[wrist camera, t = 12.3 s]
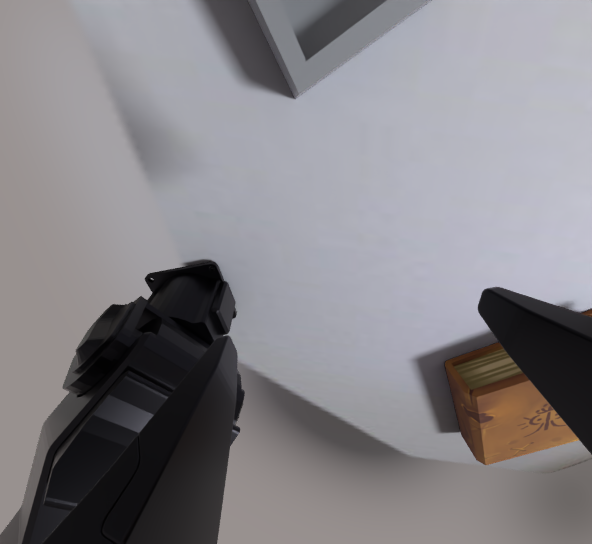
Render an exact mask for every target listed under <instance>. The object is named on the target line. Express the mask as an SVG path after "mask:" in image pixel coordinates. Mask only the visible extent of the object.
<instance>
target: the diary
mask: <svg viewBox="0 0 592 544" xmlns="http://www.w3.org/2000/svg"><path fill="white" fill-rule="evenodd" d="M580 314H583V315H587V316H590V317H592V310H589V311H586V312H583V313H580ZM445 368H446V372H447V377H448V381H449V385H450V389H451V393H452V397H453V402H454V406H455V410H456V414H457V418H458V423H459V427H460V431H461V435H462V437H463V438H464V440H465V442H466V443H467V445H468V447H469V448H470V450H471V452H472V453H473V455H474V456H475V458H476V460H478V461H479V462H481V463H483V464H484V465H488V464H492V463H496V462H500V461H503V460H507V459H511V458H514V457H518V456H522V455H526V454H529V453H533V452H537V451H540V450H544V449H548V448H551V447H555V446H559V445H563V444H566V443H570V442H574V441H577V440H579V439H578V438H577V436H576V435H575V434H574V433H573V432H572V430H571V429H570V428H569V427H568V426H567V425H566V423H565V422H564V421H563V420H562V419H561V417H560V416H559V415H558V414H557V413H556V411H555V410H554V409H553V408H552V407H551V405H550V404H549V403H548V402H547V401H546V399H545V398H544V397H543V396H542V395H541V393H540V392H539V391H538V390H537V389H536V387H535V386H534V385H533V384H532V383H531V381H530V380H529V379H528V378H527V377H526V375H525V374H524V373H523V372H522V371H521V370H520V368H519V367H518V366H517V365H516V364H515V362H514V361H513V360H512V359H511V358H510V356H509V355H508V354H507V352H506V351H505V350H504V348H503V347H502V346H501V344H500V343H499V342H498V343H495V344H492V345H489V346H487V347H484V348H481V349H478V350H475V351H472V352H470V353H467V354H464V355H461V356H458V357H455V358H452V359H450V360H447V361H446V362H445Z"/></svg>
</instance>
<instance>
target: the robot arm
mask: <svg viewBox="0 0 592 544" xmlns="http://www.w3.org/2000/svg"><path fill="white" fill-rule="evenodd" d="M210 266H212V267H214V268H215V269H211V268H210ZM150 278H153V279H154V280H151V279H150ZM145 281H146V283H147V284H148V286H149V288H150V289H151V291H152V292H153V293H152V295H151V296H150V298H149V299H148V300H146V299H144V298H143V297H142V296H140V297H139V298H138V299H137V300H135V301H134V302H131V303H129V304H128V305H127V304H125V305H115V304H113V305H111V306H110V307H109V308H108V309H107V310H106V311H105V312H104V313H103V314H102V315H101V316H100V317H99V318H98V319H97V321H96V322H95V323H94V324H93V325H92V326H91V328H90V329H89V330H88V331H87V333H86V335H85V336H84V338H83V340H82V341H81V343H80V344H79V346H78V347H77V349H76V355H75V356H74V358H73V360H72V363H71V366H70V368H69V371H68V374H67V376H66V379H65V382H64V384H63V389H65V390H67V391H69V394H68V395H67V396H66V397H65V398H64V399H63V401H62V402H61V403H60V404H59V405H58V407H57V408H56V409H55V410H54V411H53V412H52V414H51V415H50V416H49V417H48V418H47V420H46V421H45V422H44V424H43V427H42V430H41V434H40V437H39V442H38V445H37V449H36V453H35V457H34V461H33V465H32V469H31V473H30V476H29V480H28V484H27V488H26V492H25V496H24V500H23V503H22V506H21V508H20V510H19V511H18V512H17V513H16V515H15V516H14V518H13V519H12V520H11V522H10V523H9V524H8V525H7V527H6V528H5V529H4V531H3V532H2V533H1V535H0V544H217V540H218V532H219V525H220V517H221V510H222V503H223V495H224V487H225V480H226V473H227V465H228V458H229V450H230V446H231V444H232V443H233V441H234V440H235V438H236V437H237V435H238V434H239V432H240V428H239V427H238V426H236V422H237V420H238V418H239V414H240V411H241V408H242V406H243V400H244V390H243V389H241V377H240V374H239V372H238V370H237V351H236V348H235V346H234V344H233V342H232V339H231V337H230V336H223V335H225V334H228V333H229V331H230V326H231V322H232V319H233V318H235V317H236V314H237V312H236V309H235V300H234V297H233V295H232V292H231V290H230V287H229V284H228V283H227V282H226V281H224V279H223V277H222V274H221V272H220V269H219V267H218V265H217V263H215V262H207V263H202V264H196V265H191V266H186V267H180V268H175V269H170V270H165V271H159V272H154V273H150V274H148V275H147V276H146V278H145ZM478 311H479V313H480V315H481V317H482V318H483V319H484V321H485V322H486V324H487V325H488V327H489V328H490V330H491V331H492V333H493V334H494V335H495V337H496V338H497V340H498V341H499V343H500V344H501V346H502V347H503V348H504V350H505V351H506V352H507V354H508V355H509V356H510V358H511V359H512V360H513V361H514V362H515V364H516V365H517V366H518V367H519V368H520V370H521V371H522V372H523V373H524V374H525V375H526V377H527V378H528V379H529V380H530V381H531V383H532V384H533V385H534V386H535V387H536V389H537V390H538V391H539V392H540V393H541V395H542V396H543V397H544V398H545V399H546V401H547V402H548V403H549V404H550V405H551V407H552V408H553V409H554V410H555V411H556V413H557V414H558V415H559V416H560V417H561V419H562V420H563V421H564V422H565V423H566V425H567V426H568V427H569V428H570V429H571V430H572V432H573V433H574V434H575V435H576V436H577V438H578V439H579V440H580V441H581V442H582V444H583V445H584V446H585V447H586V448H587V450H588V451H589V452H590V453H591V454H592V317H590V316H587V315H583V314H580V313H577V312H574V311H571V310H568V309H565V308H562V307H559V306H556V305H553V304H550V303H547V302H544V301H540V300H537V299H534V298H531V297H528V296H525V295H522V294H519V293H516V292H513V291H510V290H507V289H504V288H500V287H493V288H487V289H485V290H484V291H483V292H482V295H481V298H480V301H479V304H478Z"/></svg>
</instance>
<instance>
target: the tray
mask: <svg viewBox="0 0 592 544" xmlns="http://www.w3.org/2000/svg"><path fill="white" fill-rule="evenodd" d="M430 1H431V0H248V2H249V4H250V6H251V8H252V10H253V12H254V14H255V17H256V19H257V21H258V23H259V25H260V27H261V29H262V31H263V33H264V35H265V37H266V39H267V42H268V44H269V46H270V48H271V50H272V52H273V54H274V56H275V58H276V60H277V62H278V65H279V67H280V69H281V71H282V73H283V75H284V77H285V79H286V81H287V83H288V85H289V88H290V90H291V92H292V94H293V96H294V98H295V99H296V98H298V97H299V96H300V95H302V94H303V93H305V92H306V91H307V90H309V89H310V88H311V87H313V86H314V85H316V84H317V83H318V82H320V81H321V80H322V79H324V78H325V77H327V76H328V75H329V74H331V73H332V72H333V71H335V70H336V69H338V68H339V67H340V66H342V65H343V64H345V63H346V62H347V61H349V60H350V59H351V58H353V57H354V56H356V55H357V54H358V53H360V52H361V51H362V50H364V49H365V48H367V47H368V46H369V45H371V44H372V43H373V42H375V41H376V40H378V39H379V38H380V37H382V36H383V35H385V34H386V33H387V32H389V31H390V30H391V29H393V28H394V27H396V26H397V25H398V24H400V23H401V22H402V21H404V20H405V19H407V18H408V17H409V16H411V15H412V14H414V13H415V12H416V11H418V10H419V9H420V8H422V7H423V6H425V5H426V4H427V3H429V2H430Z"/></svg>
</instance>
